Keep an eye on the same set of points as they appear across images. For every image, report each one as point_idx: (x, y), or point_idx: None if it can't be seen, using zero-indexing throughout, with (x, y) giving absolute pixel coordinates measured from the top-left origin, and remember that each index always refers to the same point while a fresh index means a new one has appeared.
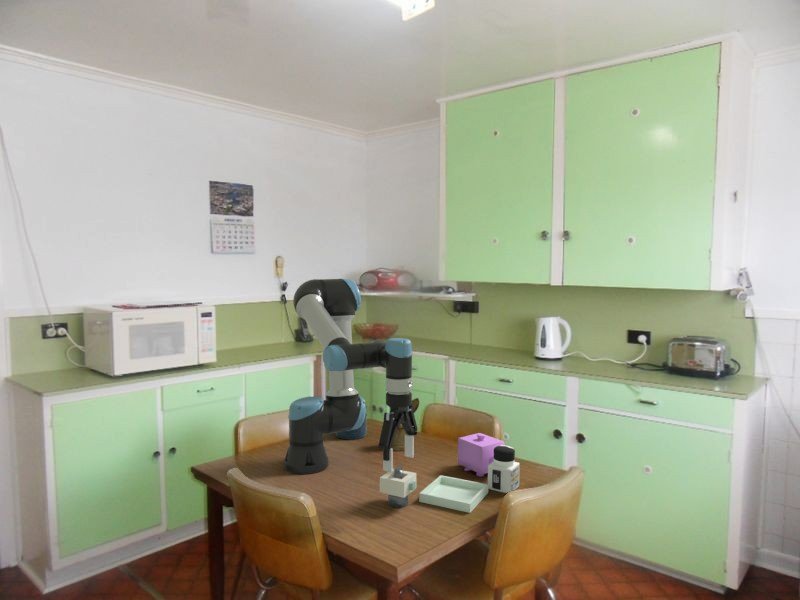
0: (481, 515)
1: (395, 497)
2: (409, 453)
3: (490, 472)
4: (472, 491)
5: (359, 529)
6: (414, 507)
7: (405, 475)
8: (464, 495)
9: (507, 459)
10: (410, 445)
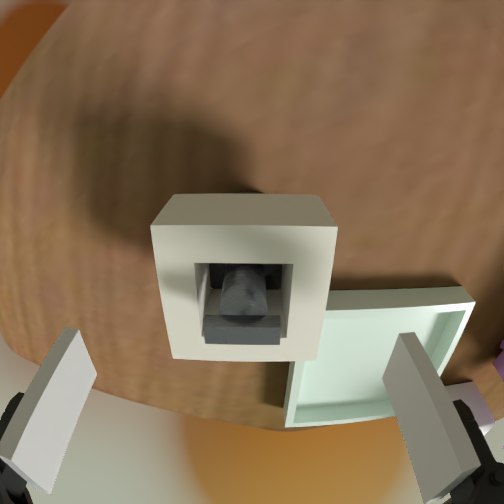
0: (281, 423)
1: None
2: (396, 380)
3: None
4: None
5: (23, 215)
6: None
7: (287, 316)
8: (375, 377)
9: None
10: (412, 433)
